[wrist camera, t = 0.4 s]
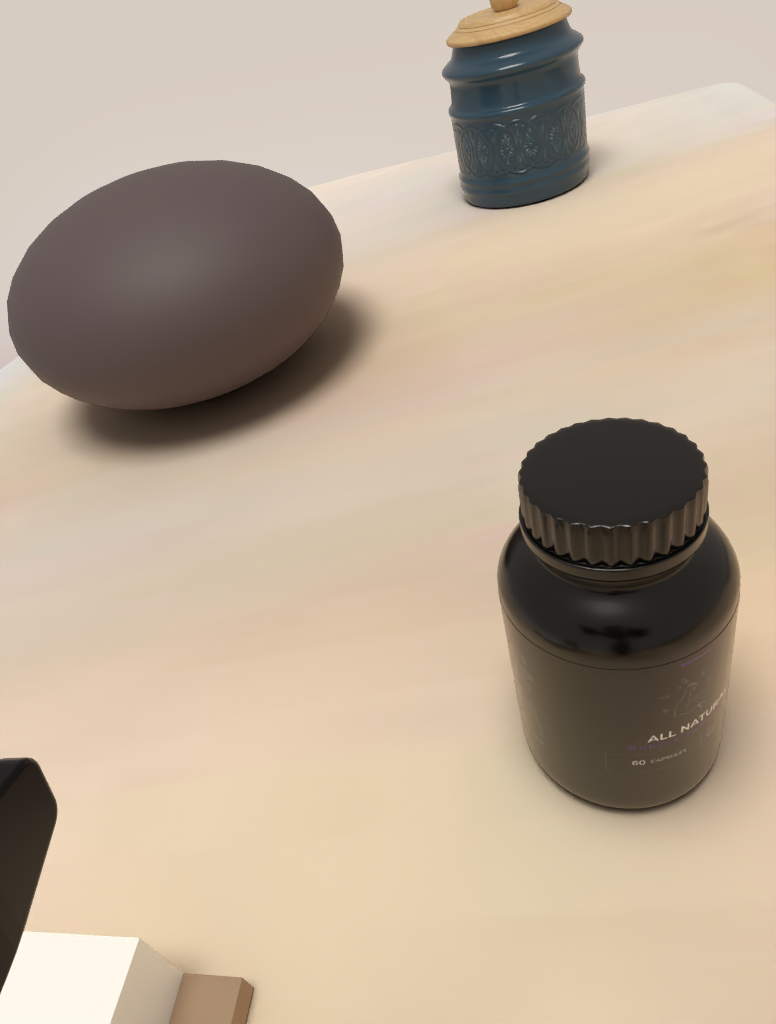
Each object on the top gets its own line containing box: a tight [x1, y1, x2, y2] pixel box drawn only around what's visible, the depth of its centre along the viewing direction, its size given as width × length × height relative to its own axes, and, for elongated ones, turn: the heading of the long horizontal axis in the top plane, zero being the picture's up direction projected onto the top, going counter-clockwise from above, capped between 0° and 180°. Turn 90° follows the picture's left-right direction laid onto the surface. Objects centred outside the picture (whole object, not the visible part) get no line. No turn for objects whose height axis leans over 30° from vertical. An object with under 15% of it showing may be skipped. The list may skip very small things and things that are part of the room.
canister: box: [442, 0, 590, 208], centre depth 68 cm, size 13×13×18 cm
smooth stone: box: [7, 160, 343, 410], centre depth 52 cm, size 25×25×15 cm
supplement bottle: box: [497, 418, 740, 809], centre depth 22 cm, size 7×7×12 cm
